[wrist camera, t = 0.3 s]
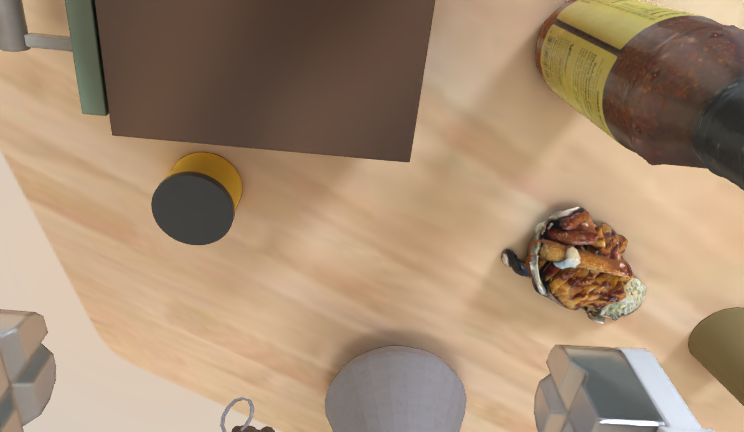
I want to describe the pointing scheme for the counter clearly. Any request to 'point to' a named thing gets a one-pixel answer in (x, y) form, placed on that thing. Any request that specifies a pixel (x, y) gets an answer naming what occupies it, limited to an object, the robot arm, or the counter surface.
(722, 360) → the cork
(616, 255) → the pastry
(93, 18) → the drawer
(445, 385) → the coffee pot
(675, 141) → the sauce bottle
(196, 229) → the jar
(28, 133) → the counter surface
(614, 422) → the robot arm
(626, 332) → the counter surface
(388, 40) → the cabinet
